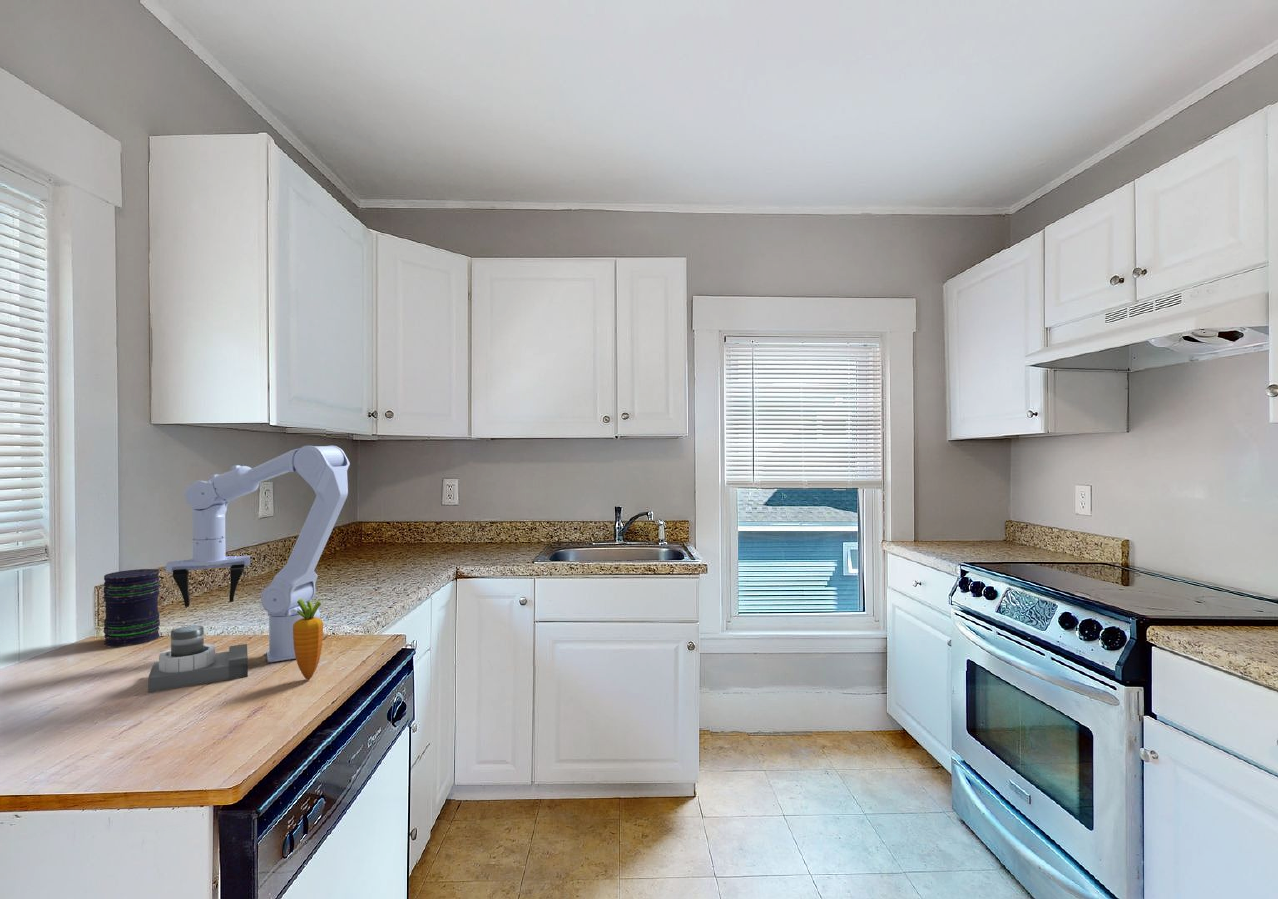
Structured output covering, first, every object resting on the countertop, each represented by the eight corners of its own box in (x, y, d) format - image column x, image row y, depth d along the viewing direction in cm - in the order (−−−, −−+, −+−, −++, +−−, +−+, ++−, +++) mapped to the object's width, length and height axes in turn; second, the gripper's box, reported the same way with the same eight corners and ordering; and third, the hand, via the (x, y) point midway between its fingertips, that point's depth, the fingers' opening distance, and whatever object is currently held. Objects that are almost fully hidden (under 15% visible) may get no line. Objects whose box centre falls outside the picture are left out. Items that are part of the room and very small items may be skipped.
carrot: (329, 676, 121) (329, 596, 121) (308, 686, 117) (307, 603, 117) (308, 673, 123) (308, 594, 123) (286, 682, 118) (286, 600, 118)
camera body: (247, 661, 130) (246, 636, 130) (247, 676, 122) (247, 649, 122) (154, 675, 122) (154, 648, 122) (147, 692, 114) (147, 664, 114)
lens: (209, 659, 123) (209, 625, 123) (194, 668, 118) (194, 632, 118) (181, 660, 123) (180, 626, 123) (164, 669, 118) (164, 633, 118)
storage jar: (136, 647, 139) (136, 577, 139) (91, 647, 139) (90, 577, 139) (170, 633, 149) (170, 569, 149) (128, 633, 149) (128, 568, 149)
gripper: (249, 533, 142) (249, 595, 142) (168, 538, 135) (168, 603, 135) (250, 537, 136) (250, 601, 136) (164, 543, 129) (165, 611, 129)
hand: (209, 603), depth 135 cm, fingers open, 7 cm apart
